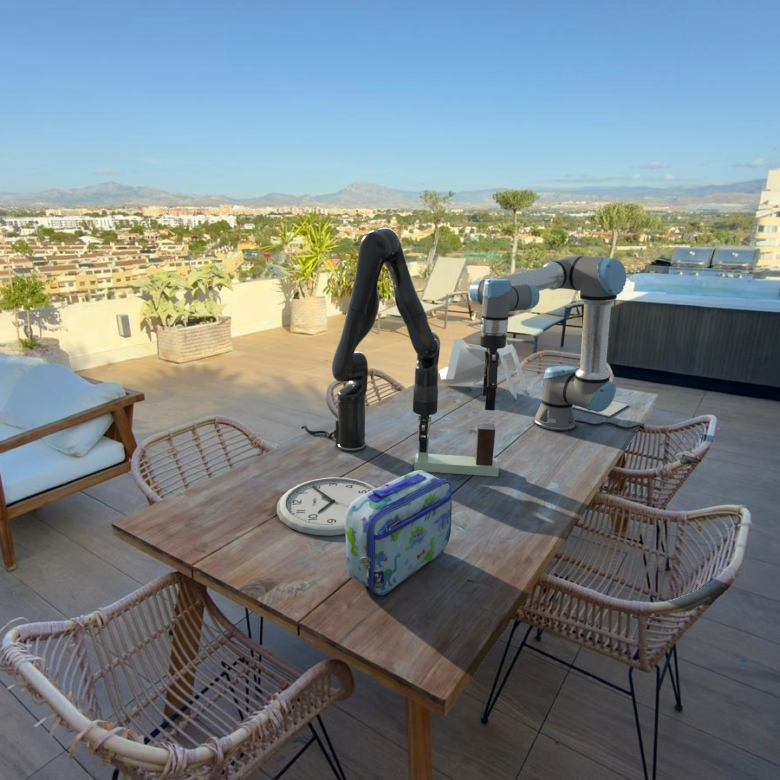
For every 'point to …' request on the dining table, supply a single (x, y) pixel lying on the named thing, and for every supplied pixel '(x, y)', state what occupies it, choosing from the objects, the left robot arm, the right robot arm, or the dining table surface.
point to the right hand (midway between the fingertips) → (488, 402)
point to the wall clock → (320, 505)
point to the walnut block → (485, 444)
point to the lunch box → (397, 529)
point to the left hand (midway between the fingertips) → (423, 447)
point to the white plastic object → (479, 365)
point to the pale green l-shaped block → (452, 464)
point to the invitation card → (607, 409)
